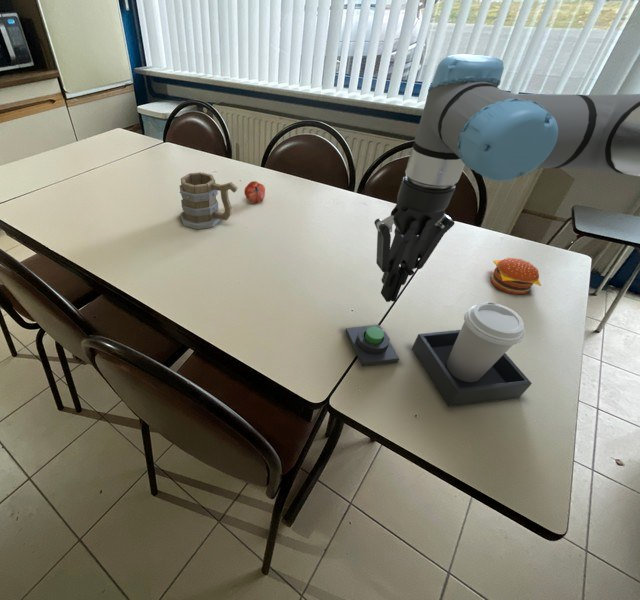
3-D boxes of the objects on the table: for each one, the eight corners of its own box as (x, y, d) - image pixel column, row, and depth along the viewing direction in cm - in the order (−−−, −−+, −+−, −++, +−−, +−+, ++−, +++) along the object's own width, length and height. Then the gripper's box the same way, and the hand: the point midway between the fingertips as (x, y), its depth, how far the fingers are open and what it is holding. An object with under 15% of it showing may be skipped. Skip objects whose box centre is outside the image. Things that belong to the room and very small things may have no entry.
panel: (397, 362, 77) (402, 353, 75) (361, 366, 76) (364, 357, 74) (378, 328, 84) (381, 319, 82) (344, 331, 83) (347, 322, 81)
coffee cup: (491, 363, 76) (530, 311, 66) (486, 397, 70) (528, 345, 60) (442, 344, 79) (472, 292, 69) (434, 375, 73) (465, 323, 63)
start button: (384, 343, 77) (386, 338, 76) (368, 345, 77) (370, 339, 76) (377, 331, 80) (379, 326, 79) (361, 333, 80) (363, 327, 78)
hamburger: (484, 271, 100) (495, 251, 96) (522, 275, 99) (535, 255, 95) (495, 293, 93) (507, 272, 89) (536, 298, 92) (551, 277, 88)
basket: (519, 397, 70) (532, 383, 67) (448, 406, 69) (458, 392, 66) (473, 341, 81) (482, 327, 78) (411, 348, 80) (418, 333, 77)
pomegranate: (242, 203, 135) (243, 198, 125) (245, 184, 135) (246, 176, 125) (262, 206, 135) (264, 201, 125) (265, 186, 135) (267, 179, 125)
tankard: (174, 222, 120) (168, 178, 110) (196, 207, 129) (192, 164, 119) (226, 238, 113) (224, 193, 103) (245, 221, 121) (246, 177, 111)
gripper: (456, 166, 58) (411, 282, 74) (377, 171, 57) (347, 287, 73) (486, 186, 53) (430, 306, 68) (399, 192, 51) (362, 313, 67)
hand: (387, 296), depth 71 cm, fingers closed
